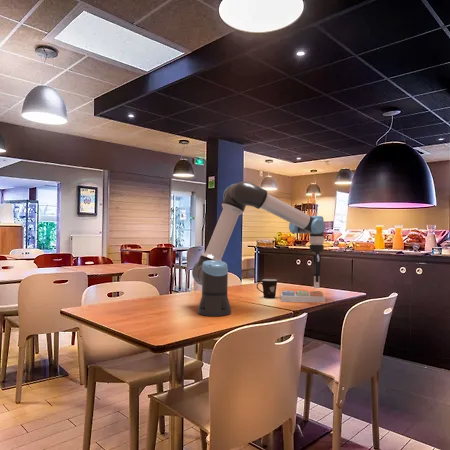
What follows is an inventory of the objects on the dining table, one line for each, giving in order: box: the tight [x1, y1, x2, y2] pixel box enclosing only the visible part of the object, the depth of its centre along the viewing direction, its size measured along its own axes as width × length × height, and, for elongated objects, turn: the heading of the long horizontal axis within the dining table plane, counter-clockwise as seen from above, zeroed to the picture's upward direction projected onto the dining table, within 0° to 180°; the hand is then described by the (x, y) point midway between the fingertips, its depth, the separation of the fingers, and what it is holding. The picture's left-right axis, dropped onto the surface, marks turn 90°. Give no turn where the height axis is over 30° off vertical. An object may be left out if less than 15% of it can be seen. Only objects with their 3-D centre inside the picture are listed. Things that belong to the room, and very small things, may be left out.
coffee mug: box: [256, 278, 278, 300], centre depth 220 cm, size 12×9×10 cm
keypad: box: [279, 292, 326, 304], centre depth 211 cm, size 23×10×3 cm, turn 86°
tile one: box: [281, 290, 296, 296], centre depth 212 cm, size 6×6×3 cm
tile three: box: [309, 290, 324, 296], centre depth 211 cm, size 6×6×3 cm
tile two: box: [295, 290, 310, 296], centre depth 212 cm, size 6×6×3 cm
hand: (316, 287), depth 211 cm, fingers closed
